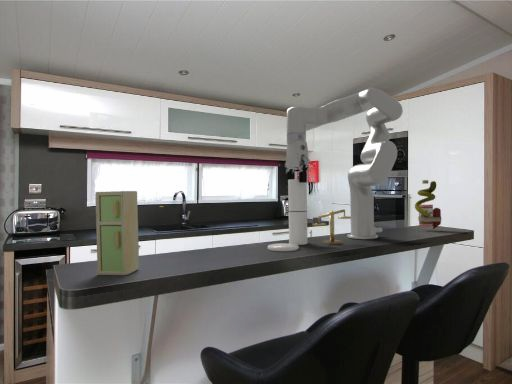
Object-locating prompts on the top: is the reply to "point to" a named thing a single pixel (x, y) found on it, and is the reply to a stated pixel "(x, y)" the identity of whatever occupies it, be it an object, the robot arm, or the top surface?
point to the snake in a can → (428, 207)
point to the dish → (283, 247)
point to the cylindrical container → (297, 212)
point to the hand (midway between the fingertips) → (296, 182)
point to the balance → (318, 223)
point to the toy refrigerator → (117, 232)
